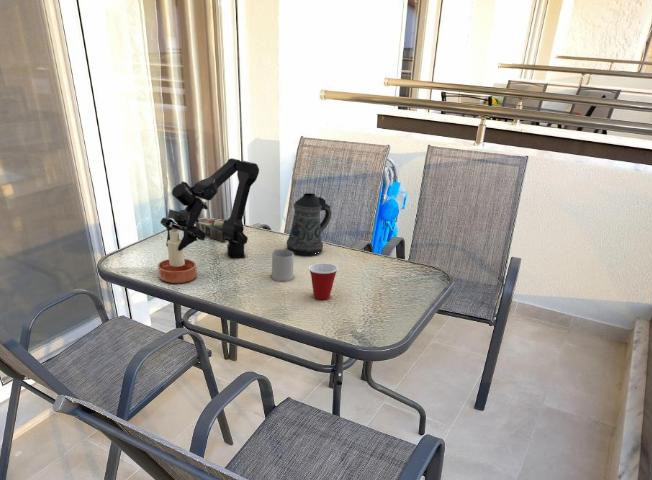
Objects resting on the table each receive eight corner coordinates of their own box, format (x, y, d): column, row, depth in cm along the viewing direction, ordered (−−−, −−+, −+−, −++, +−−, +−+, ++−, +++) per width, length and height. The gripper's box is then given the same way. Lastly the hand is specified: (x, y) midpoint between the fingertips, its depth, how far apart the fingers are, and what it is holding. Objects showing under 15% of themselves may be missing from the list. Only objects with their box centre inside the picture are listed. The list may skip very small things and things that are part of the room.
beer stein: (279, 250, 228) (280, 194, 215) (304, 240, 242) (306, 186, 229) (308, 259, 221) (312, 201, 208) (333, 248, 235) (337, 193, 222)
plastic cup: (321, 288, 195) (323, 259, 189) (341, 298, 189) (344, 267, 183) (300, 295, 189) (302, 265, 182) (321, 305, 182) (323, 274, 176)
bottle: (186, 261, 196) (183, 229, 189) (182, 267, 191) (179, 233, 184) (172, 260, 196) (168, 227, 189) (167, 266, 192) (163, 232, 185)
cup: (296, 275, 205) (297, 252, 199) (287, 282, 198) (287, 258, 193) (278, 271, 207) (278, 248, 202) (268, 278, 201) (268, 254, 196)
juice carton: (193, 232, 242) (192, 219, 239) (208, 228, 249) (207, 215, 246) (223, 243, 233) (223, 229, 230) (238, 238, 240) (238, 225, 237)
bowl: (193, 268, 204) (193, 257, 202) (199, 282, 193) (198, 270, 191) (157, 271, 200) (156, 259, 197) (160, 285, 189) (159, 273, 186)
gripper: (161, 195, 188) (141, 231, 186) (198, 205, 180) (178, 243, 178) (178, 212, 198) (160, 246, 196) (214, 222, 190) (195, 258, 188)
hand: (172, 248), depth 189 cm, fingers closed on bottle, 6 cm apart
